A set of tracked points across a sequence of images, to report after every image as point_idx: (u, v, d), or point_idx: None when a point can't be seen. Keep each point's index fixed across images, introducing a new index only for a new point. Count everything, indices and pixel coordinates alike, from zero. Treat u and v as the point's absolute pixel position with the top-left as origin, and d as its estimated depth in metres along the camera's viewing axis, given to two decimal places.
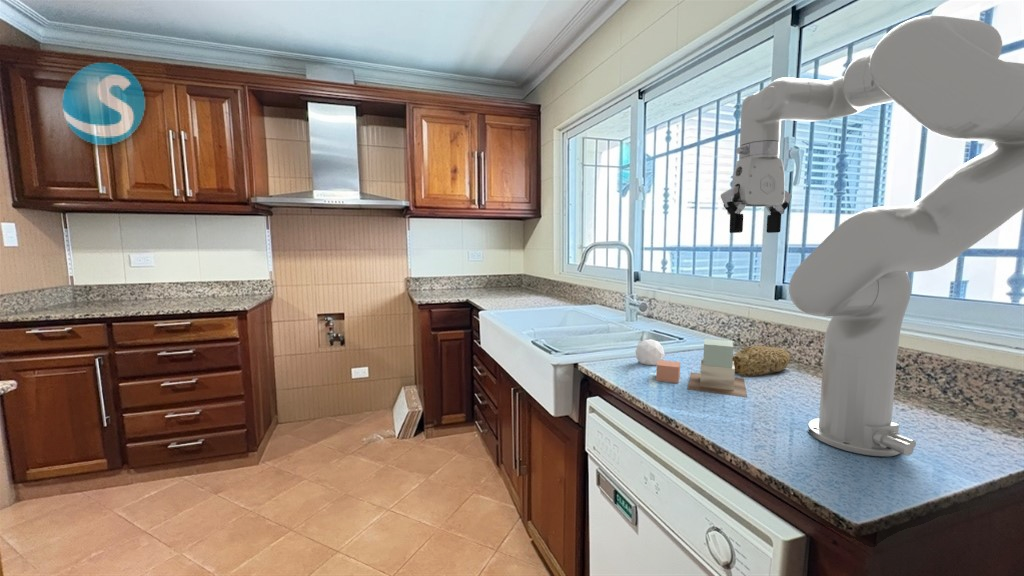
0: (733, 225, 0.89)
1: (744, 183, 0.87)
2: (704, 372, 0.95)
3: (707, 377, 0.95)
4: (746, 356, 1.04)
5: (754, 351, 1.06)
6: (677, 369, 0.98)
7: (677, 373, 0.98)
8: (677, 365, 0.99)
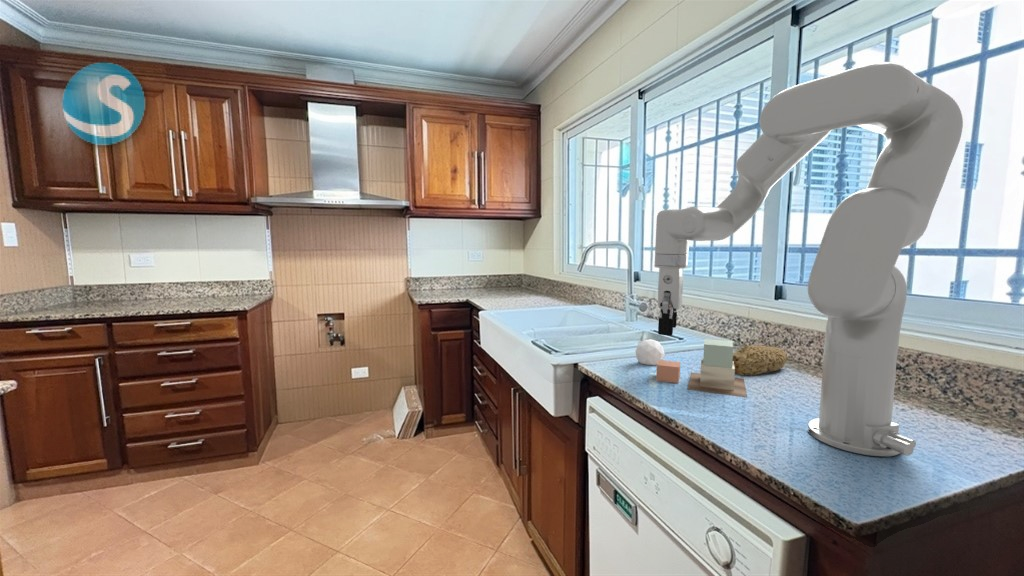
0: (666, 329, 0.95)
1: (676, 292, 0.94)
2: (704, 372, 0.95)
3: (707, 377, 0.95)
4: (743, 355, 1.04)
5: (752, 350, 1.06)
6: (677, 369, 0.98)
7: (677, 373, 0.98)
8: (677, 365, 0.99)
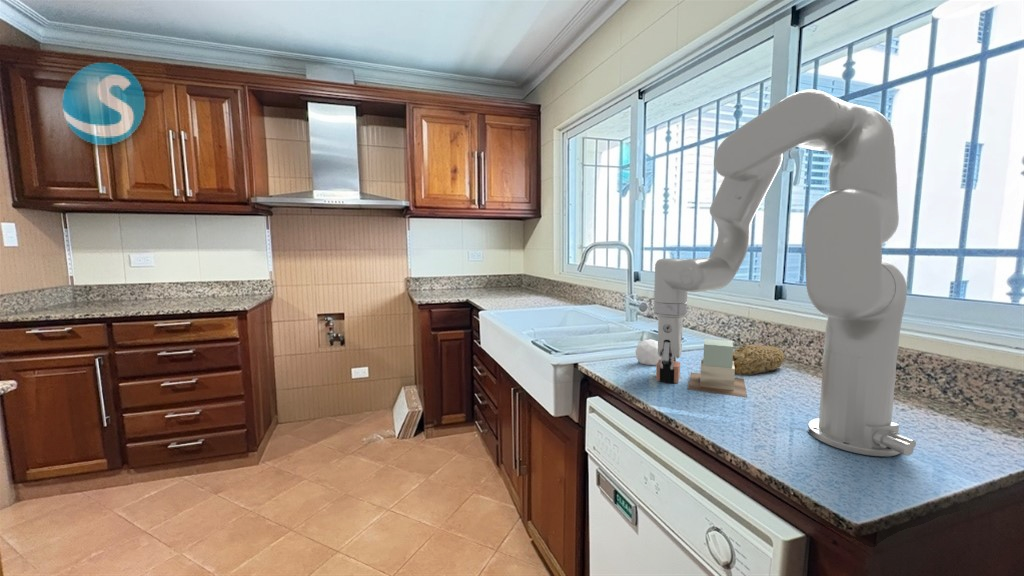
0: (667, 380, 0.98)
1: (675, 341, 0.95)
2: (704, 372, 0.95)
3: (707, 377, 0.95)
4: (742, 355, 1.05)
5: (750, 350, 1.07)
6: (677, 369, 0.98)
7: (677, 373, 0.98)
8: (677, 365, 0.99)
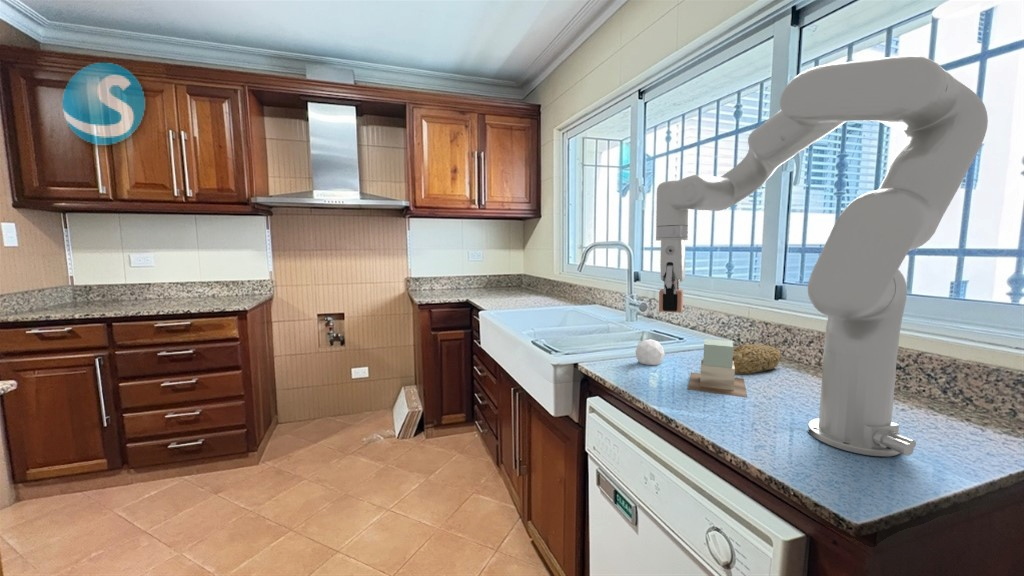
0: (671, 304, 0.96)
1: (678, 263, 0.93)
2: (704, 372, 0.95)
3: (707, 377, 0.95)
4: (739, 354, 1.05)
5: (747, 349, 1.08)
6: (680, 293, 0.96)
7: (680, 297, 0.96)
8: (680, 290, 0.97)
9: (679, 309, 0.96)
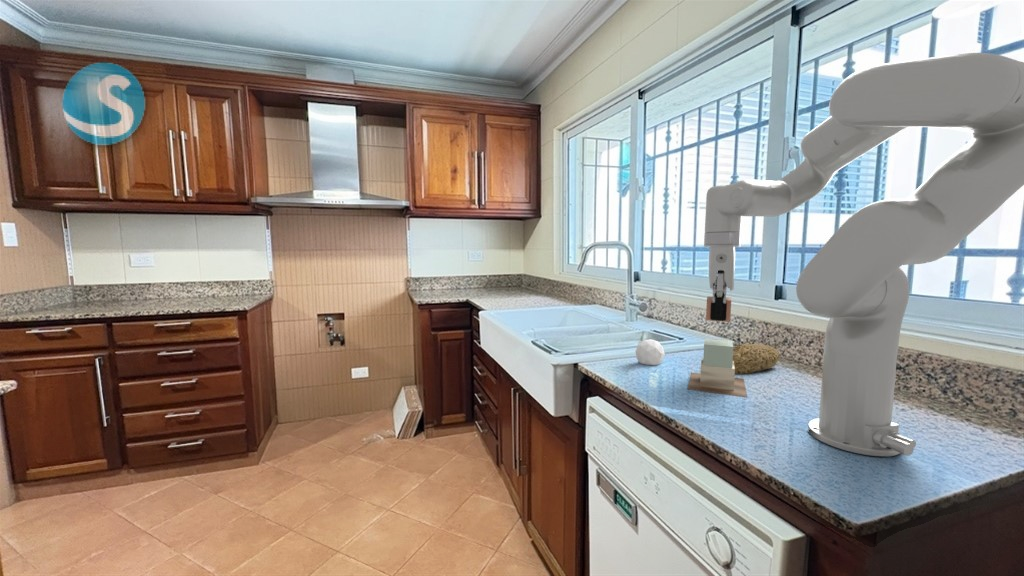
0: (719, 314, 0.92)
1: (730, 271, 0.89)
2: (704, 372, 0.95)
3: (707, 377, 0.95)
4: (738, 354, 1.06)
5: (745, 349, 1.08)
6: (729, 302, 0.92)
7: (729, 306, 0.92)
8: (729, 299, 0.94)
9: (728, 318, 0.93)
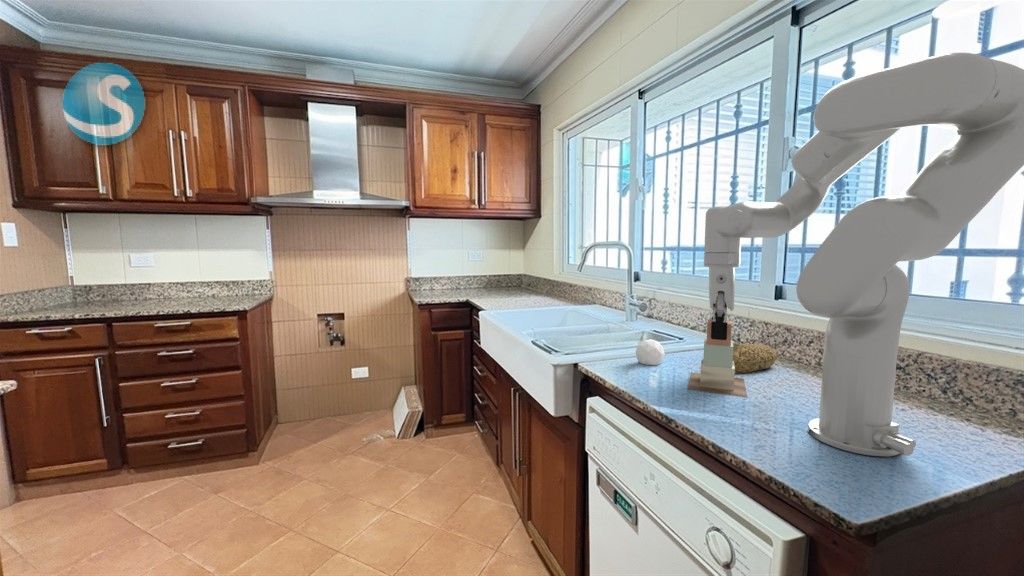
0: (720, 333, 0.91)
1: (730, 292, 0.90)
2: (704, 372, 0.95)
3: (707, 377, 0.95)
4: (736, 354, 1.06)
5: (743, 349, 1.08)
6: (730, 326, 0.93)
7: (730, 331, 0.93)
8: (729, 323, 0.94)
9: (728, 342, 0.93)
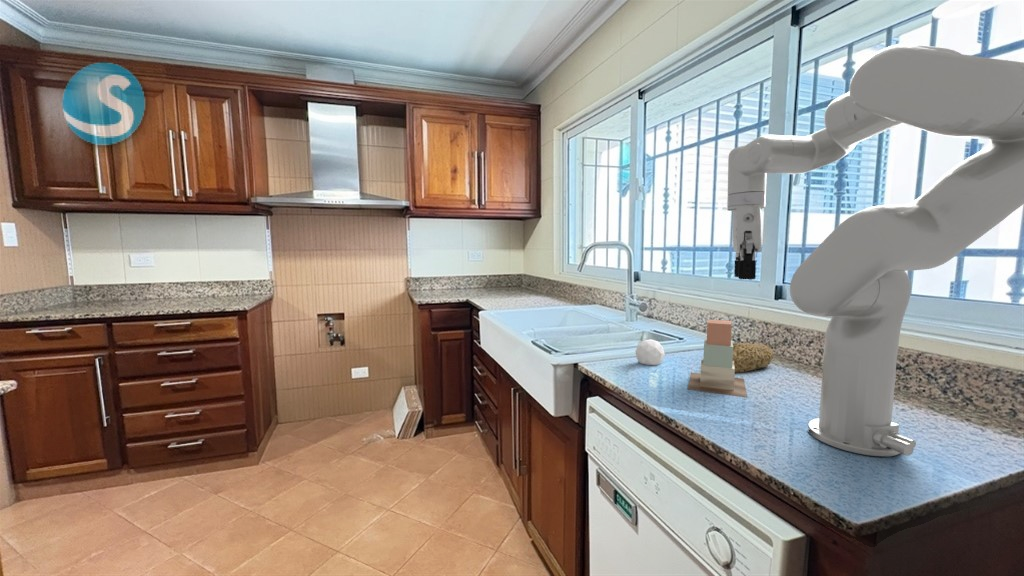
0: (749, 272, 0.88)
1: (758, 231, 0.87)
2: (704, 372, 0.95)
3: (707, 377, 0.95)
4: (734, 353, 1.07)
5: (741, 348, 1.09)
6: (730, 326, 0.93)
7: (730, 331, 0.93)
8: (729, 323, 0.94)
9: (728, 342, 0.93)
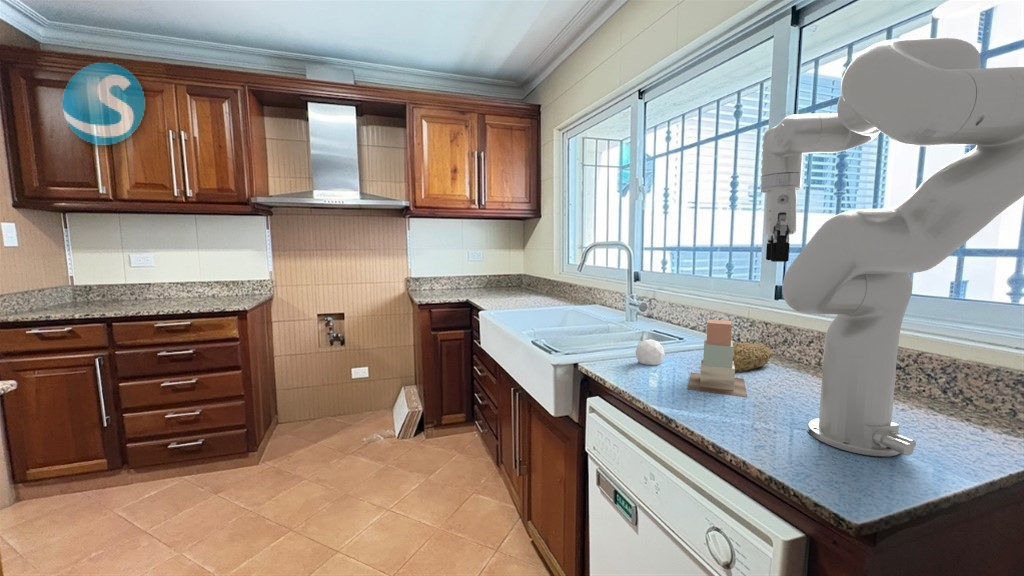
0: (782, 254, 0.87)
1: (792, 212, 0.86)
2: (704, 372, 0.95)
3: (707, 377, 0.95)
4: None
5: (739, 348, 1.09)
6: (730, 326, 0.93)
7: (730, 331, 0.93)
8: (729, 323, 0.94)
9: (728, 342, 0.93)
